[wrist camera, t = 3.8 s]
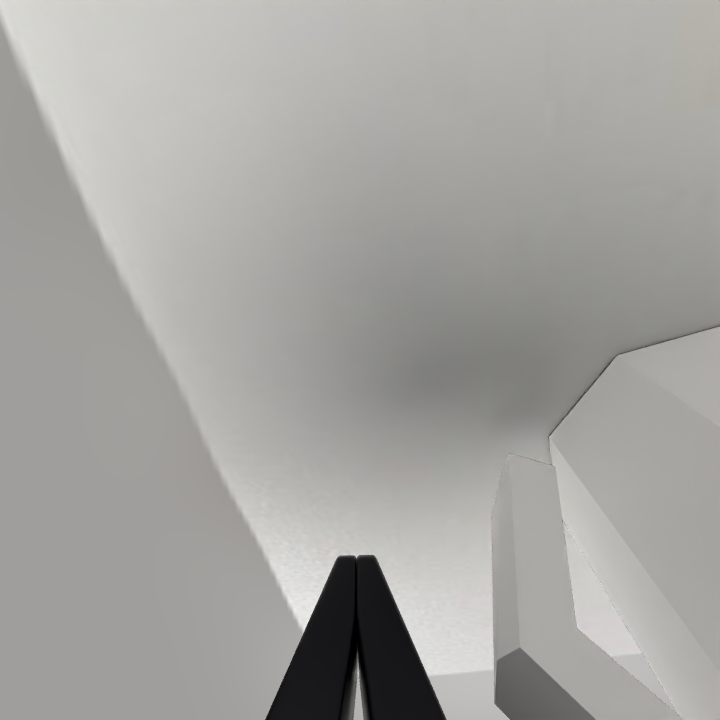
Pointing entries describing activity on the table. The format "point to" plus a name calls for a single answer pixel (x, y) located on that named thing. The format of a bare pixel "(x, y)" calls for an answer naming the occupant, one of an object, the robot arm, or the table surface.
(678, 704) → the mug
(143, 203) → the table surface
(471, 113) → the table surface
